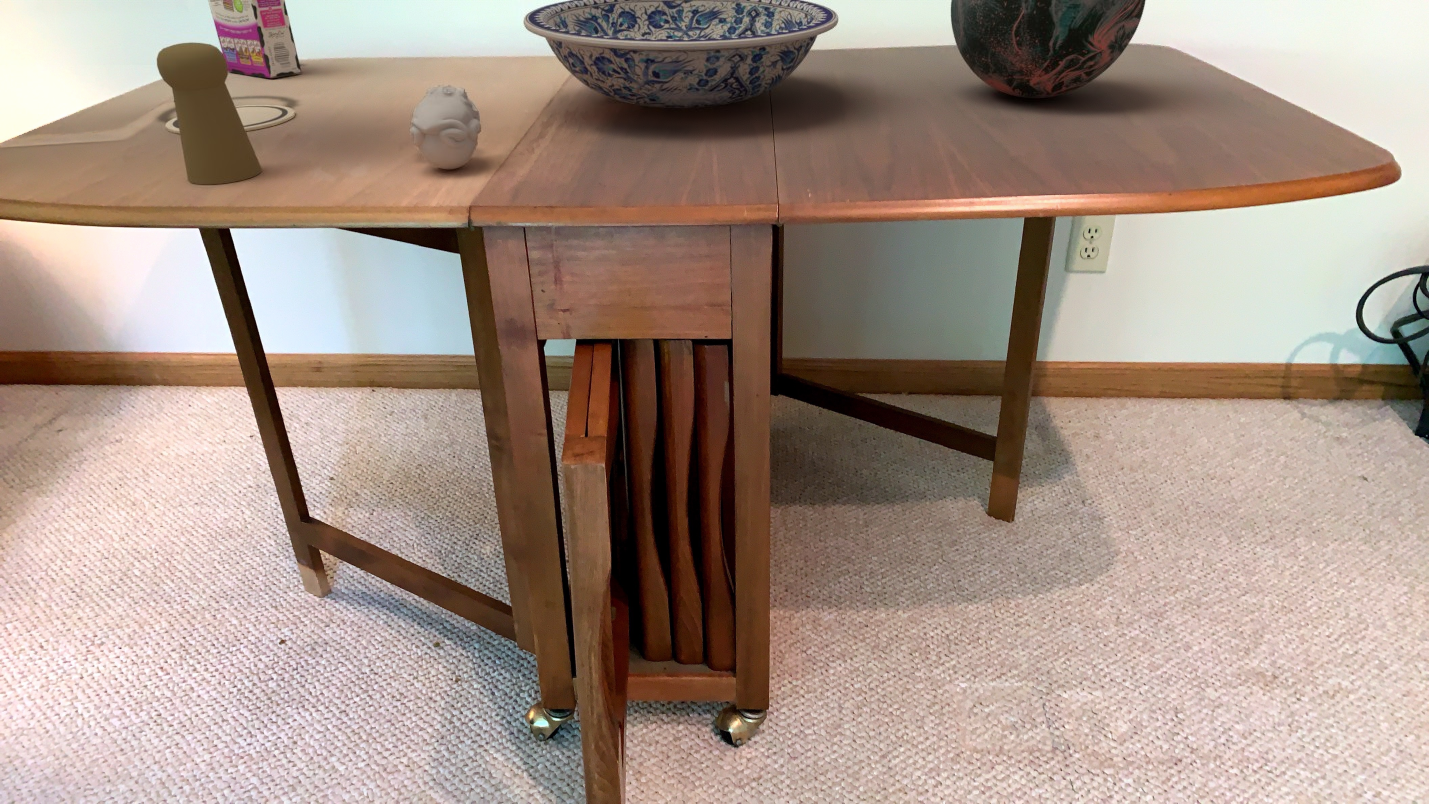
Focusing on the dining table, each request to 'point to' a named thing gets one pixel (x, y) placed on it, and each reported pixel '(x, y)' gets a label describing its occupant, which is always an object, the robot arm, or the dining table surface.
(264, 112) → the round coaster
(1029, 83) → the decorative sphere
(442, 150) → the frog figurine
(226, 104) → the cork
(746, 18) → the ceramic bowl
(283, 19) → the candy bar box
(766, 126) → the dining table surface
